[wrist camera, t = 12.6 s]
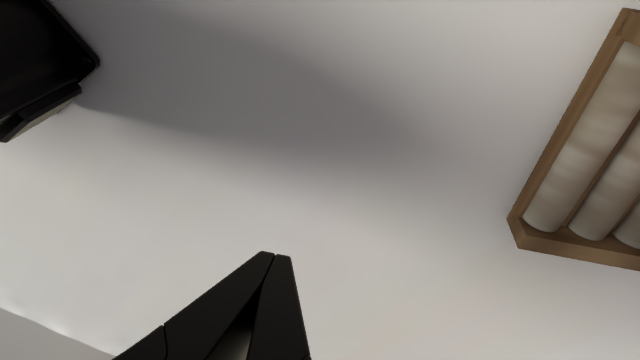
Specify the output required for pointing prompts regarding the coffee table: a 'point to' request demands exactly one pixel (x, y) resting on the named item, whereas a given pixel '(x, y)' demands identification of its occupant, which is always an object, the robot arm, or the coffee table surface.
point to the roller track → (591, 164)
